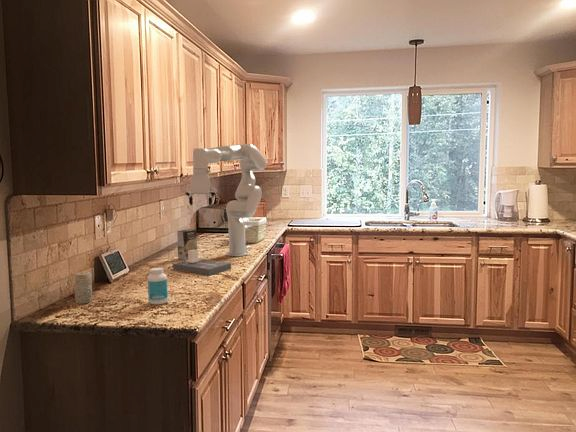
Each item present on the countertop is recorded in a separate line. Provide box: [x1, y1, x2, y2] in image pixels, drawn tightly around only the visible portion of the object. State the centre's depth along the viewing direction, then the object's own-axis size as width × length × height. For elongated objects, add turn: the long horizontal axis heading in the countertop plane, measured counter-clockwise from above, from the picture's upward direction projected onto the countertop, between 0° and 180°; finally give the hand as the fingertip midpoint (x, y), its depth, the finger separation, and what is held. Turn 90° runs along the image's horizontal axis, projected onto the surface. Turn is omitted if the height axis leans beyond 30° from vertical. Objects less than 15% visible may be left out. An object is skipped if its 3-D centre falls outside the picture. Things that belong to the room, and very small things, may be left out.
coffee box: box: [176, 228, 198, 261], centre depth 274 cm, size 9×6×16 cm
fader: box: [184, 249, 202, 263], centre depth 250 cm, size 6×5×6 cm
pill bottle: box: [146, 267, 169, 306], centre depth 191 cm, size 8×7×14 cm
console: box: [172, 258, 232, 276], centre depth 247 cm, size 16×25×3 cm, turn 56°
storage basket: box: [242, 216, 268, 244], centre depth 331 cm, size 24×16×15 cm
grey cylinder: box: [74, 271, 93, 305], centre depth 193 cm, size 6×8×12 cm
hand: (200, 205), depth 255 cm, fingers open, 9 cm apart
